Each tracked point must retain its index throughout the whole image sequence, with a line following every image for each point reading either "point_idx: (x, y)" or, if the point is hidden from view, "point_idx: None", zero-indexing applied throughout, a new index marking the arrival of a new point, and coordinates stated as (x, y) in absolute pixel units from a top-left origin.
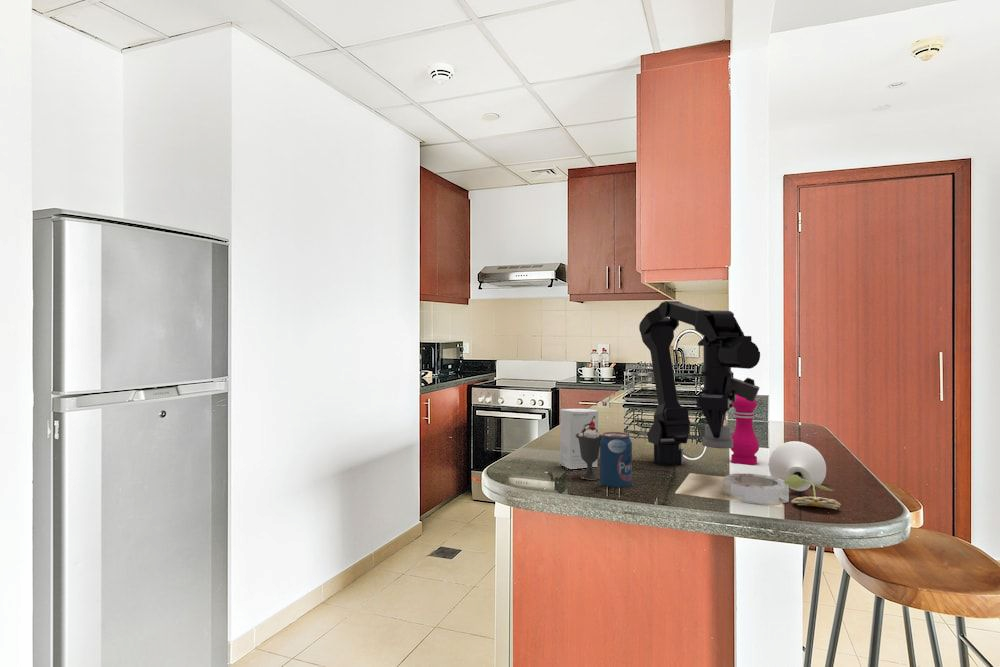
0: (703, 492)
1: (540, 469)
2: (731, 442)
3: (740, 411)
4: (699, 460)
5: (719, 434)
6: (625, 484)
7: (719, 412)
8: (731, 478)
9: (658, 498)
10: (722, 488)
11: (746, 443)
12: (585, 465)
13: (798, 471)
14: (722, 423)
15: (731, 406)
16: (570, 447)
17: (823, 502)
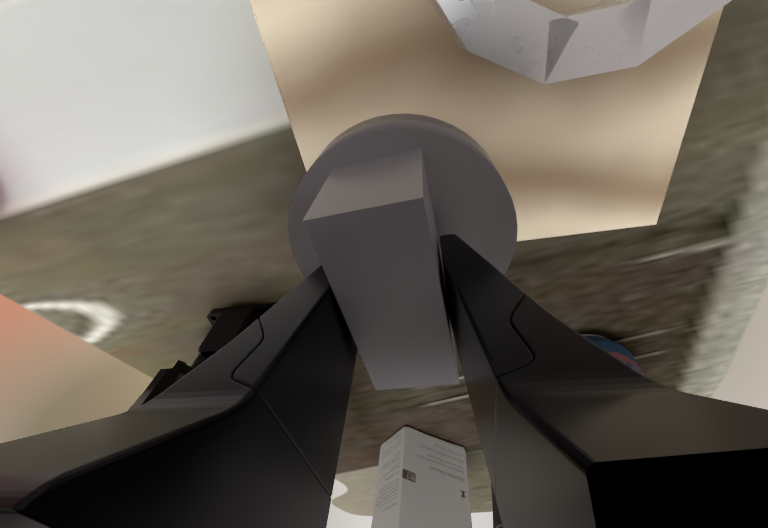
0: (610, 141)
1: (481, 475)
2: (427, 126)
3: None
4: (95, 293)
5: (466, 244)
6: (623, 350)
7: (627, 467)
8: (606, 28)
9: (651, 253)
10: (504, 93)
11: None
12: (431, 444)
13: None
14: (320, 306)
15: (76, 484)
16: (469, 508)
17: None
